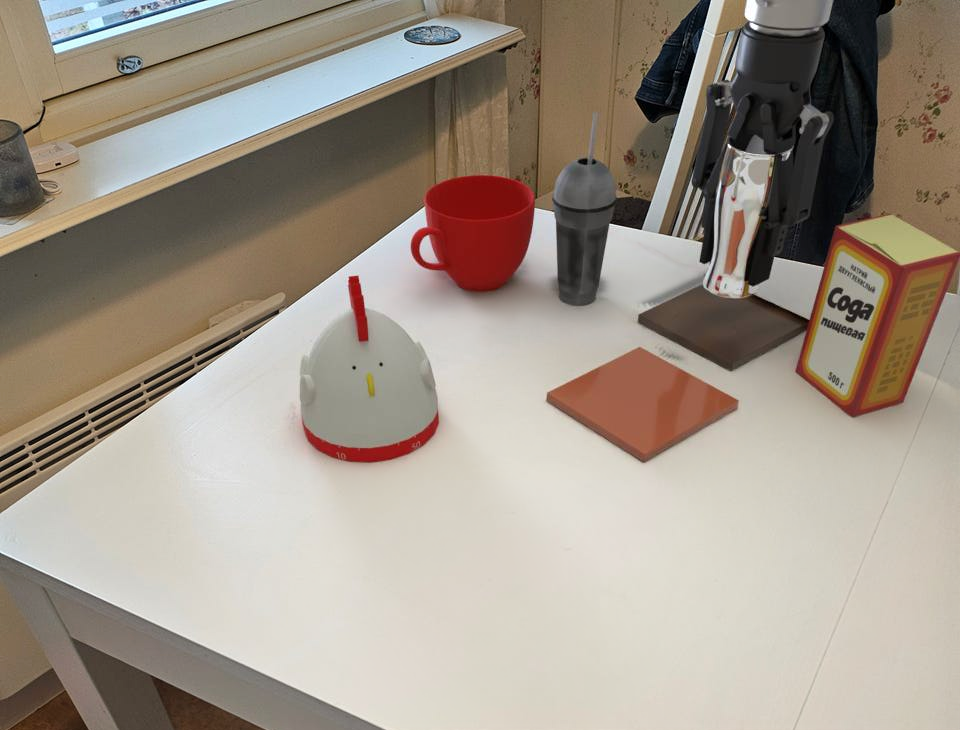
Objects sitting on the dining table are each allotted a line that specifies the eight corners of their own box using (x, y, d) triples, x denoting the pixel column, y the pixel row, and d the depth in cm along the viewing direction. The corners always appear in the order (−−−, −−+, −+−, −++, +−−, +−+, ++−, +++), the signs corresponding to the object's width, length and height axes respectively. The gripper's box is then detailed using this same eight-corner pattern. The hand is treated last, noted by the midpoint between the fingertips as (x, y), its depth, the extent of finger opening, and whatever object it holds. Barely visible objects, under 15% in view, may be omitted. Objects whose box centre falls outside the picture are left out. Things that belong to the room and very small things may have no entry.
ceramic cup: (383, 289, 111) (375, 206, 103) (483, 246, 118) (482, 165, 111) (452, 328, 104) (449, 242, 97) (554, 279, 112) (558, 196, 105)
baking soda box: (795, 371, 97) (836, 221, 86) (843, 358, 99) (891, 209, 87) (852, 417, 92) (905, 263, 80) (903, 402, 93) (962, 249, 81)
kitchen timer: (309, 470, 87) (281, 327, 76) (298, 392, 96) (272, 254, 85) (450, 451, 89) (443, 307, 77) (427, 376, 98) (418, 238, 86)
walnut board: (810, 328, 103) (812, 320, 103) (731, 371, 98) (732, 363, 97) (716, 284, 111) (717, 276, 110) (637, 322, 105) (638, 314, 104)
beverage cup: (535, 300, 109) (542, 118, 94) (567, 276, 112) (578, 98, 98) (588, 317, 106) (603, 132, 91) (618, 292, 110) (637, 111, 95)
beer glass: (700, 269, 103) (725, 127, 92) (761, 274, 102) (795, 131, 91) (697, 298, 99) (723, 152, 88) (761, 304, 98) (797, 158, 87)
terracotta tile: (737, 408, 93) (739, 400, 92) (643, 462, 87) (645, 454, 86) (638, 354, 100) (639, 346, 99) (545, 400, 94) (546, 392, 94)
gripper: (677, 10, 85) (646, 250, 103) (849, 57, 76) (782, 314, 93) (729, -4, 89) (690, 231, 106) (900, 39, 79) (826, 291, 96)
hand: (733, 269), depth 99 cm, fingers closed on beer glass, 6 cm apart
